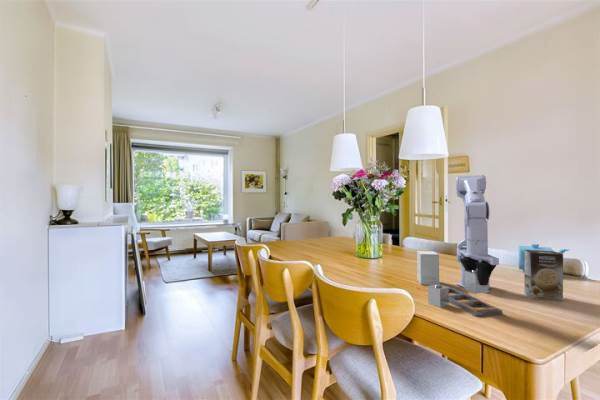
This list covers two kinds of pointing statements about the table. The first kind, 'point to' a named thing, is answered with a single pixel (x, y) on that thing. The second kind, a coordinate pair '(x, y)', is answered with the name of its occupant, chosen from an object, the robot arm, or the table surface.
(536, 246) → the teapot
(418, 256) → the supplement box
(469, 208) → the robot arm
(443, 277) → the table surface
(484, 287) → the grey rectangular block
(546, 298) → the coffee box
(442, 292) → the grey upright block
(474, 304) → the grey compartment tray
